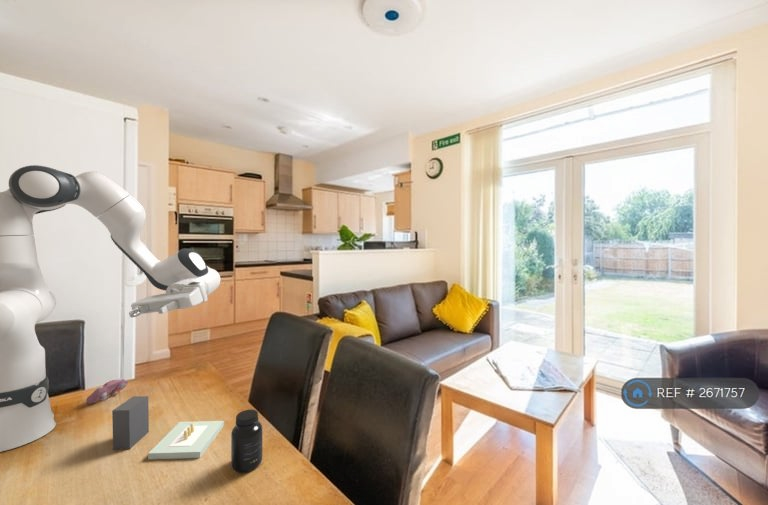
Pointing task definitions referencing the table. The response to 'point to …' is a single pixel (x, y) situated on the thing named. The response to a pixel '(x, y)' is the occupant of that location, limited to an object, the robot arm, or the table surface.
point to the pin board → (187, 440)
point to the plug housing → (130, 422)
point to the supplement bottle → (246, 442)
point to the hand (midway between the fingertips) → (145, 313)
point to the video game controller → (107, 390)
